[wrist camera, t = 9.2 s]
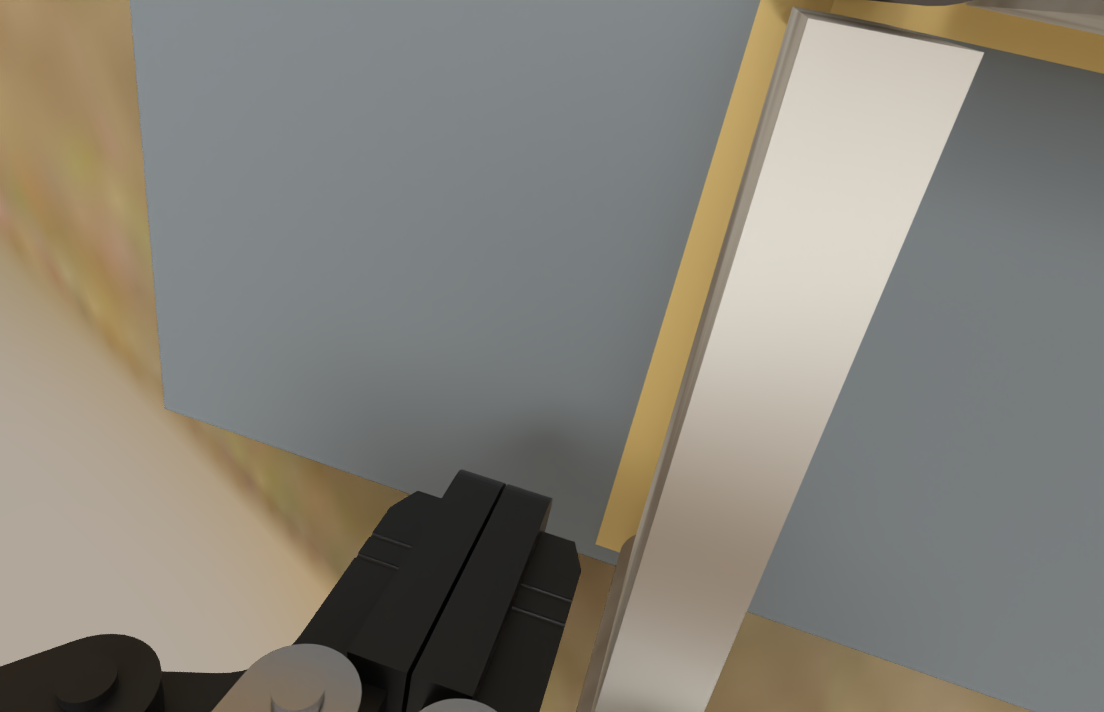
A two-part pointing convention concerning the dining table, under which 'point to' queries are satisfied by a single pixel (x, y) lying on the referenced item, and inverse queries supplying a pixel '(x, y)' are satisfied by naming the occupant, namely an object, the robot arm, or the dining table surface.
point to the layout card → (643, 291)
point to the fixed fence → (1052, 12)
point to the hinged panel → (774, 341)
